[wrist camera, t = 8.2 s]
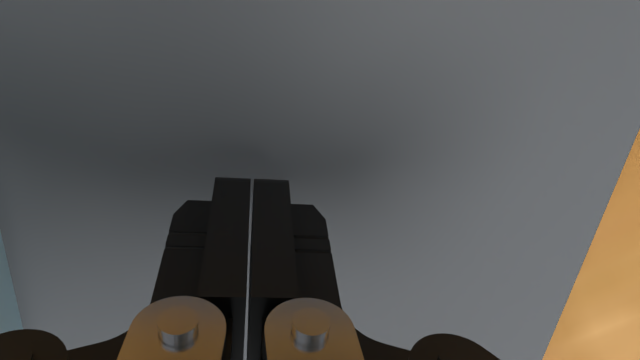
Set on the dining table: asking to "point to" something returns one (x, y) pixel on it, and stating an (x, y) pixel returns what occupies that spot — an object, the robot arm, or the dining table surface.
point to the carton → (7, 297)
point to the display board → (319, 150)
